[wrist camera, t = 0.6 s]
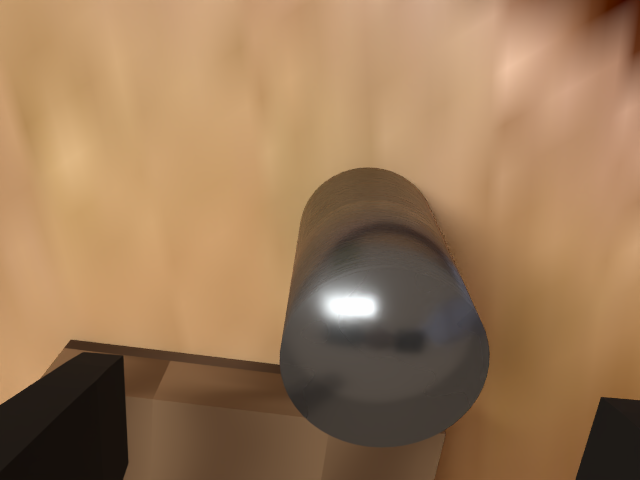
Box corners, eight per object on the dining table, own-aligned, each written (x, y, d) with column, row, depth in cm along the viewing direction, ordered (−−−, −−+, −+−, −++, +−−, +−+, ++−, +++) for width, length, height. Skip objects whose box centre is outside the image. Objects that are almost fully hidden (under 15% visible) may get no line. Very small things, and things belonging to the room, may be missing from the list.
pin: (445, 176, 17) (512, 283, 11) (419, 299, 19) (464, 458, 12) (308, 159, 17) (291, 255, 11) (293, 283, 19) (270, 435, 12)
